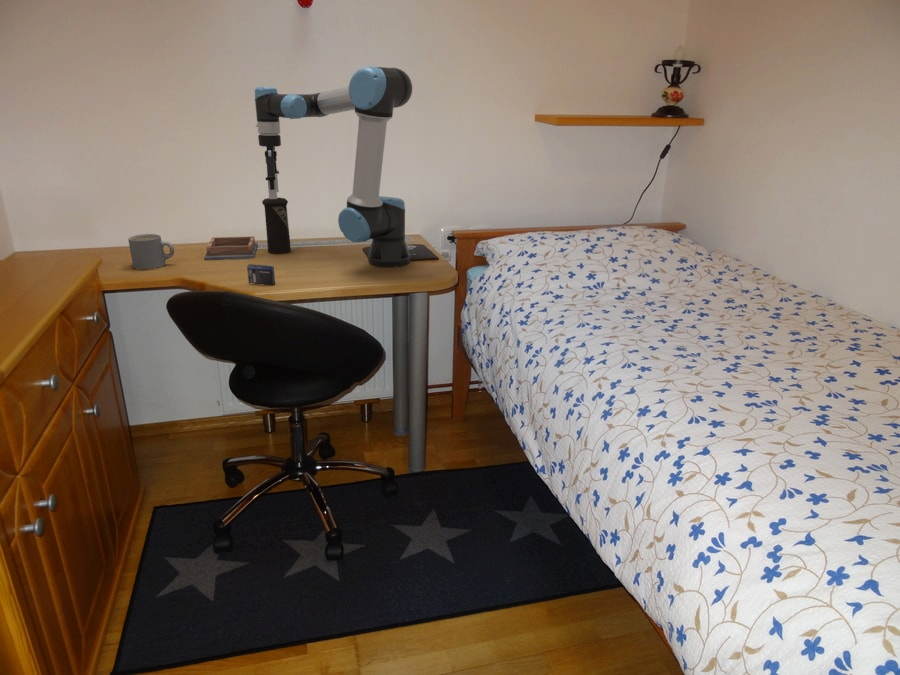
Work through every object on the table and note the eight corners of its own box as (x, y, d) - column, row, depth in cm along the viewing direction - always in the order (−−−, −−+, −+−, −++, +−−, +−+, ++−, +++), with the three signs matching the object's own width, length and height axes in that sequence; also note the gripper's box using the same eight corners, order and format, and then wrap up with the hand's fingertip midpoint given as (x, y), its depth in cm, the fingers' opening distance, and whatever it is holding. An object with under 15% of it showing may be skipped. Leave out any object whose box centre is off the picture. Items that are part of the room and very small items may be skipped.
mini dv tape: (248, 283, 196) (246, 265, 193) (251, 282, 197) (249, 264, 195) (273, 285, 195) (271, 267, 192) (275, 284, 196) (273, 265, 194)
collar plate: (254, 258, 223) (253, 247, 221) (204, 260, 219) (203, 249, 218) (257, 245, 241) (256, 235, 239) (211, 246, 237) (210, 236, 236)
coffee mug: (128, 270, 206) (123, 240, 203) (140, 262, 216) (135, 233, 212) (169, 270, 208) (165, 240, 204) (179, 262, 217) (175, 233, 213)
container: (288, 254, 229) (283, 200, 221) (264, 254, 229) (258, 199, 221) (294, 249, 237) (290, 196, 229) (270, 248, 237) (266, 195, 229)
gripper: (260, 131, 227) (265, 189, 235) (255, 137, 205) (261, 201, 213) (281, 131, 229) (285, 189, 237) (279, 137, 206) (283, 201, 214)
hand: (274, 195), depth 225 cm, fingers open, 13 cm apart
